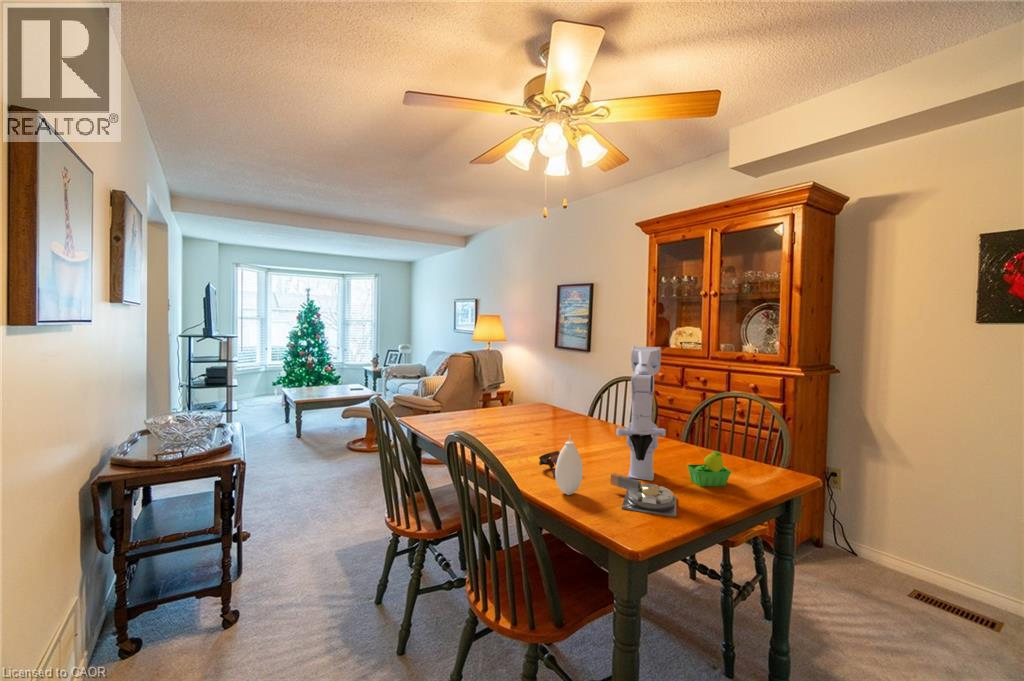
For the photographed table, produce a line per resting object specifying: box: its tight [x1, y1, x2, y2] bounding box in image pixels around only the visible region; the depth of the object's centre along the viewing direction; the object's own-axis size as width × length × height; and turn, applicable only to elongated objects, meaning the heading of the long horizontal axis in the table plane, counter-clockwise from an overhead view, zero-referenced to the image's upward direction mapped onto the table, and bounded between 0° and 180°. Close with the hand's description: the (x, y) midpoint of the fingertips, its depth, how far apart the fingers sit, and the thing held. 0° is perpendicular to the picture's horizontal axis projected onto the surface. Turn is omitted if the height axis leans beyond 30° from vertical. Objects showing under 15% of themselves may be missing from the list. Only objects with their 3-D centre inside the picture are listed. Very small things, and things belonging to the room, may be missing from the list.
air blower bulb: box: [554, 434, 583, 496], centre depth 134 cm, size 8×8×18 cm
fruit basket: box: [686, 450, 732, 487], centre depth 145 cm, size 11×9×11 cm
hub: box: [621, 483, 677, 518], centre depth 128 cm, size 14×14×5 cm
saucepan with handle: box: [610, 472, 674, 504], centre depth 129 cm, size 12×18×3 cm
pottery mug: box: [538, 450, 561, 478], centre depth 153 cm, size 12×10×8 cm
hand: (639, 459), depth 136 cm, fingers closed
